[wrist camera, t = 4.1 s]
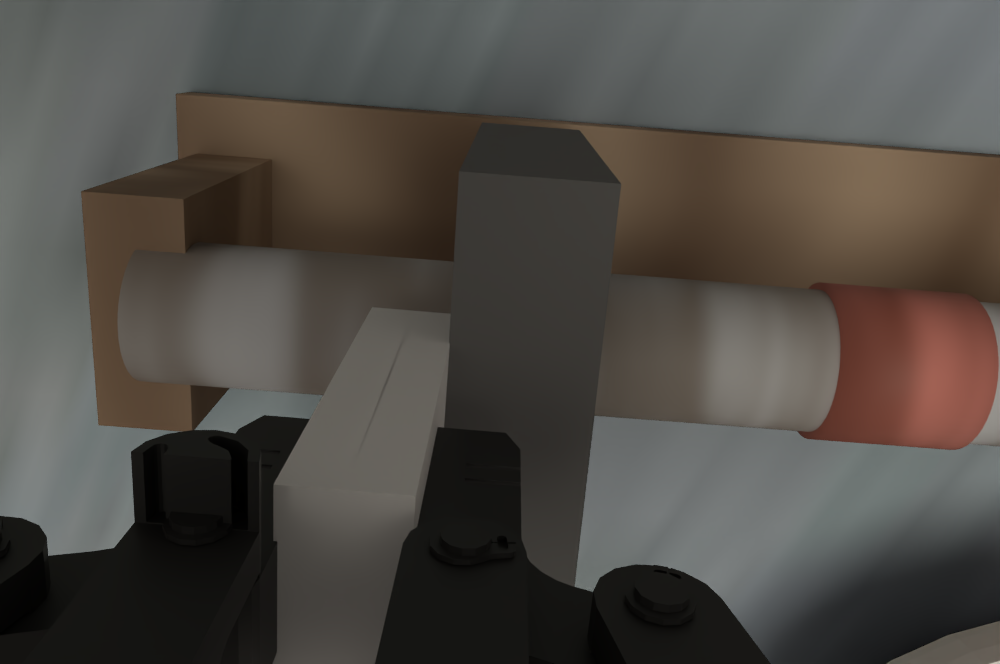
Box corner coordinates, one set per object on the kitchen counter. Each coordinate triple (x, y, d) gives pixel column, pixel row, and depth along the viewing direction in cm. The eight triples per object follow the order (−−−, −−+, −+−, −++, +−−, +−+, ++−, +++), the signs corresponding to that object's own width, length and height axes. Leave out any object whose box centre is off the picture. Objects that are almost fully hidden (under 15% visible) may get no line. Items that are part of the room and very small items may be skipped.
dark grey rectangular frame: (462, 421, 24) (432, 629, 15) (482, 122, 21) (458, 171, 13) (549, 428, 24) (568, 639, 15) (579, 130, 21) (621, 184, 13)
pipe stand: (199, 367, 26) (53, 512, 18) (189, 92, 24) (15, 114, 16) (1058, 432, 26) (1304, 605, 18) (1138, 165, 24) (1465, 226, 16)
